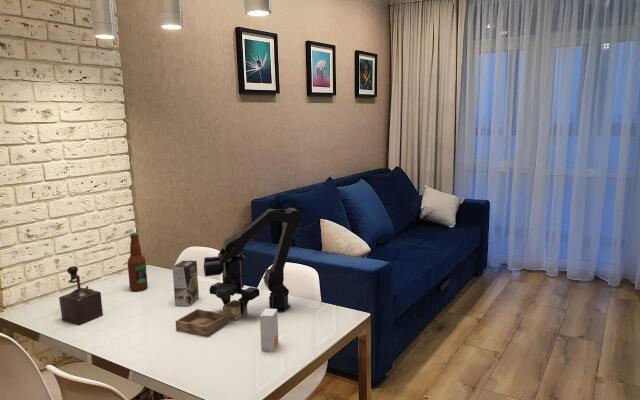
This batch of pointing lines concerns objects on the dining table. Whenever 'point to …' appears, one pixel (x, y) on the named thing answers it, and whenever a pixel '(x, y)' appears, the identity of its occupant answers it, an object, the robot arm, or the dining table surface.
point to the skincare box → (269, 330)
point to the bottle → (136, 266)
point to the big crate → (202, 322)
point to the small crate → (233, 310)
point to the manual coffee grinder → (80, 302)
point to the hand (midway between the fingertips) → (235, 312)
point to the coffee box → (185, 283)
